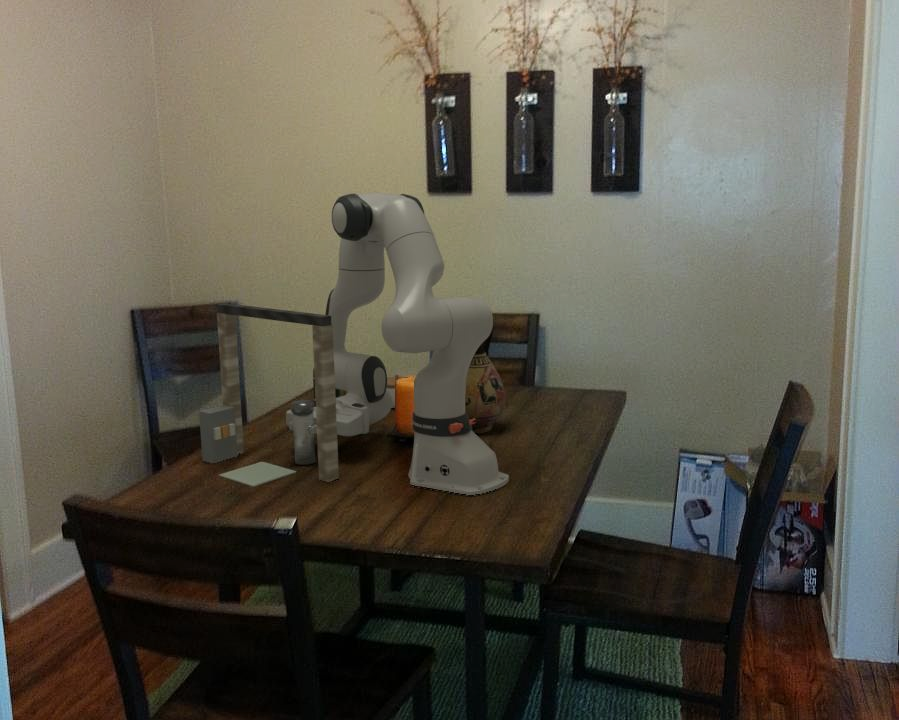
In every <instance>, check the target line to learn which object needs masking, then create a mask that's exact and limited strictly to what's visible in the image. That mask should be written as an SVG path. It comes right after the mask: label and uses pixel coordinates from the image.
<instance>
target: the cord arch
mask: <svg viewBox="0 0 899 720" xmlns="http://www.w3.org/2000/svg"><path fill="white" fill-rule="evenodd" d="M216 305H217V312H216V319H217V320H216V321H217V336H218V337H217V338H218V351H219V368H220V380H221V381H220V383H221V396H222V405H226V406H230V407H234V408H235V423H236V439H237V455H239V453H240V454H243V452H244V453H245V450H244V446H245V445H244V434H243V418H242V417H243V416H242V403H241V402H242V399H241V383H240V369H239V368H240V366H239V365H240V364H239V350H238V335H237V319H236V317H237V316H239V317H248V318H253V319H254V318H255V319H261V320H270V321H277V322H278V321H279V322H284V323H294V324H301V325H308V326H312V327H311V328H312V348H313V349H312V350H313V369H314V376H315V398H316V421H317V433H316V438H317V441H316V443H317V458H318V459H317V462H318V481H320V480H323V481H327V482H329V481H332V480H334V479H337V478H339V479H340V475H339V452H338V451H339V450H338V435H337V421H336V396H335V371H334V347H333V325H332V323H331V316H330V315H325V314H319V313H311V312H304V311H303V312H302V311H294V310H286V309H285V310H284V309H279V308H278V309H276V308H271V307H270V308H269V307H260V306H252V305H250V306H249V305H243V304H236V303H235V304H234V303H226V302H225V303H218V304H216ZM323 481H322V482H323ZM327 482H326V483H327Z"/></svg>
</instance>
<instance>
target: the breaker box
mask: <svg viewBox="0 0 899 720" xmlns="http://www.w3.org/2000/svg"><path fill="white" fill-rule="evenodd" d="M198 415H199V427H200V428H199V429H200V442H201V443H200V444H201V458H202V461H203V462H205V461H206V462H205V463H208V462H209V463H208V464H212V463H214V464H217V462H218V463H220V461H221V462H224V461H227V460H226V459H228V460H230V458H231V459H234V458H233V457H235V458H238V457H237V456H238V455H239V454H237V439H236V423H235V408H234V407H230V406H226V405H223V404H221V405H219V406H214V407H211V408H205V409H201V410H199V411H198ZM223 460H224V461H223Z"/></svg>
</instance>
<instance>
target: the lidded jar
mask: <svg viewBox="0 0 899 720" xmlns="http://www.w3.org/2000/svg"><path fill="white" fill-rule="evenodd" d="M408 377H409V376H400V375H399V374H395V375H394V376H389V377H388V376H387V387H386V388H387V389H388V391H389V392H390V394H391V396H392V408H394V407H395V381H396V380H398V379H401V378H408Z"/></svg>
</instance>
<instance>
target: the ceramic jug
mask: <svg viewBox="0 0 899 720" xmlns="http://www.w3.org/2000/svg"><path fill="white" fill-rule="evenodd" d="M494 320H495V319H493V327H492V331H491V333H490V335H489V337H488V338H487V339H486V340H485V341H484V342H483V343H482V344H481V345H480V346H479V348H478V349H477V351H476V352H475V354H474V356H473V358H472V361H471V363H470V366H469V369H468V373H467V378H466V392H465V411H466V412H467V414H468V417H469V420H470V419H473V418H476V419H475V420H474V421H473V422H476V423H474V424H471V426H472V431H473V432H474V433H479V434H485V433H487V432H490V431H491V430H492V428H493V426H494V424H495V422H496V421H497V420H498V419H499V417H501V415H502V413H503V411H504V409H505V405H506V392H505V388H504V384H503V381H502V379H501V377H500V375H499V373H498V371H497V369H496V367H495V365H494V364H493V363H492V361H491V359H490V358H489V355H490V354H489V352H490V351H489V350H490V348H491V347H490V346H491V342H492V338H493V333H494V328H495V323H494V322H495V321H494Z"/></svg>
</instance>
